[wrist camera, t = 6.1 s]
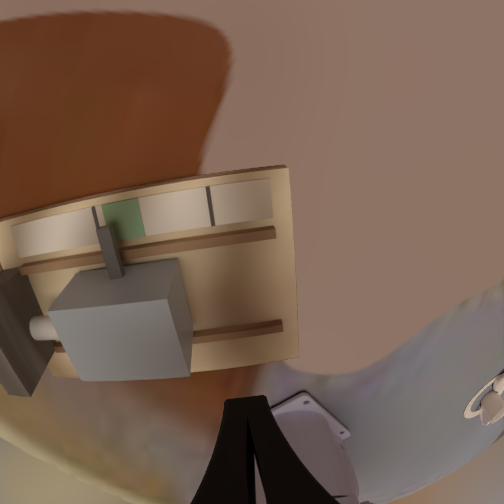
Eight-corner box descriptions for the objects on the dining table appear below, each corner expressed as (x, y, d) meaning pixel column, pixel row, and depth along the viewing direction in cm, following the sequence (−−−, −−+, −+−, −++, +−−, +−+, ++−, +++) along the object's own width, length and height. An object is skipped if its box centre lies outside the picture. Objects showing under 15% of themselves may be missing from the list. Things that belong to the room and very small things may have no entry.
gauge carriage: (167, 209, 15) (152, 238, 11) (193, 327, 18) (190, 376, 14) (23, 237, 15) (-15, 267, 11) (62, 338, 17) (39, 379, 14)
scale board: (283, 164, 16) (319, 188, 11) (295, 346, 21) (318, 415, 15) (-2, 219, 15) (-61, 258, 10) (59, 366, 20) (32, 425, 14)
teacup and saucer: (507, 358, 27) (525, 377, 24) (512, 379, 30) (527, 396, 26) (456, 406, 29) (471, 429, 25) (468, 421, 32) (481, 440, 28)
